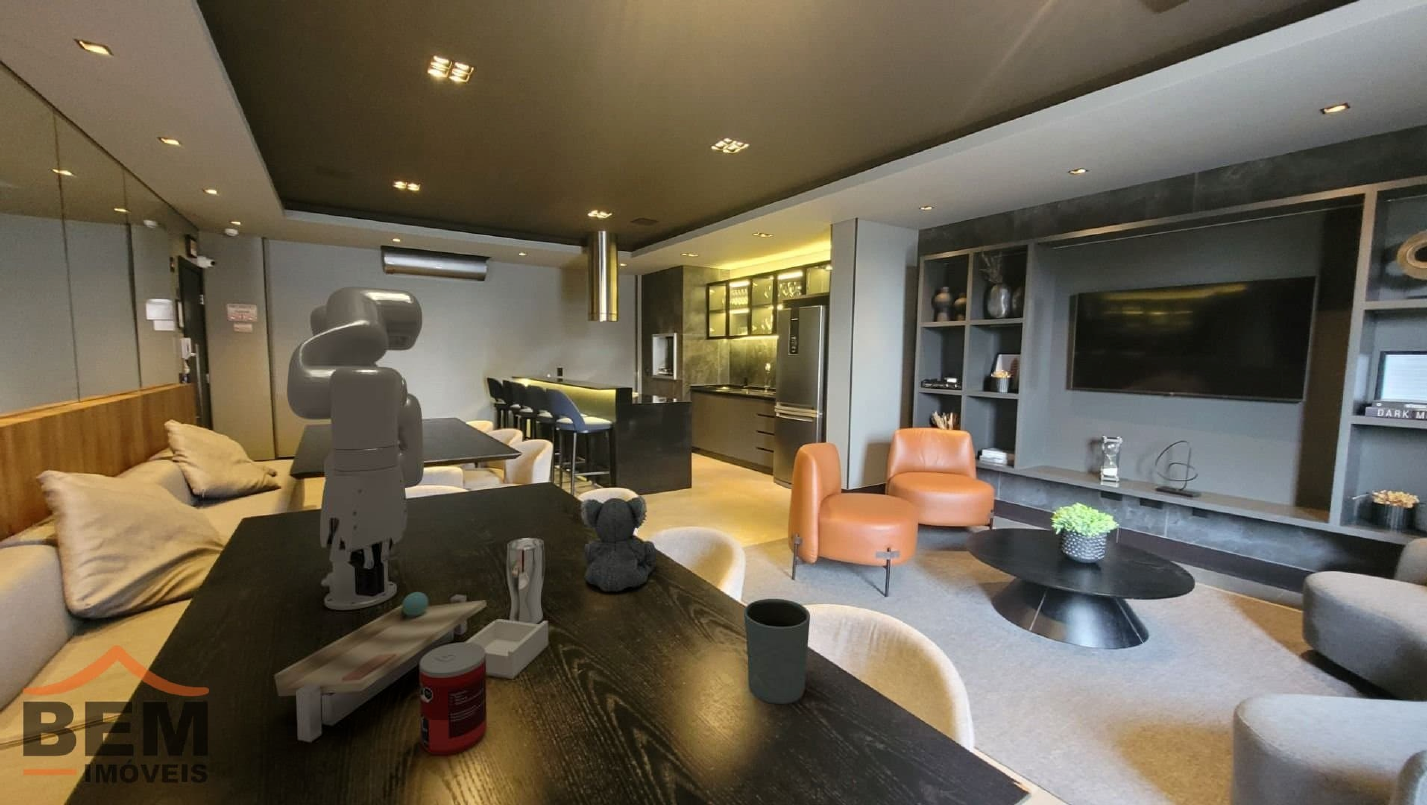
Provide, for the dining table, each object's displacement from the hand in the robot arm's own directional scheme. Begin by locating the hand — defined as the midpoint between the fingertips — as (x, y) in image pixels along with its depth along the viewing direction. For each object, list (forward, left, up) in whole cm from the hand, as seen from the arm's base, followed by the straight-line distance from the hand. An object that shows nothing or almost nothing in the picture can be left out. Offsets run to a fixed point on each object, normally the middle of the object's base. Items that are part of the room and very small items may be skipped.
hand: (370, 593), depth 74 cm
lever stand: (-5, +9, -18) cm, 21 cm away
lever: (-5, +9, -13) cm, 17 cm away
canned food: (+13, 0, -18) cm, 22 cm away
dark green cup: (+53, +21, -18) cm, 60 cm away
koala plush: (+13, +54, -18) cm, 59 cm away
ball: (-9, +18, -11) cm, 23 cm away
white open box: (+8, +18, -18) cm, 27 cm away
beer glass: (+4, +31, -18) cm, 36 cm away
